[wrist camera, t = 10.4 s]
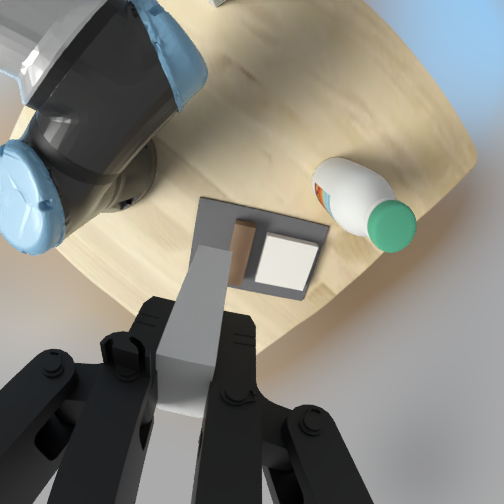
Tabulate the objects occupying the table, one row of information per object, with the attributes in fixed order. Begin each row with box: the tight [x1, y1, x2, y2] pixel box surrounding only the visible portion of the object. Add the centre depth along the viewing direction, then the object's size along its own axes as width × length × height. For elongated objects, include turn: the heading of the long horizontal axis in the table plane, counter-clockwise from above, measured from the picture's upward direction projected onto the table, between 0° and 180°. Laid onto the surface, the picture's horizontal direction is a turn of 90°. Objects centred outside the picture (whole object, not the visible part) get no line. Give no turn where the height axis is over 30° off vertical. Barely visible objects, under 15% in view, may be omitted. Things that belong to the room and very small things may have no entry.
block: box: [228, 219, 256, 287], centre depth 43 cm, size 3×10×2 cm, turn 167°
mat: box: [189, 197, 329, 301], centre depth 45 cm, size 20×14×1 cm
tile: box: [255, 232, 318, 291], centre depth 44 cm, size 2×8×8 cm
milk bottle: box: [312, 157, 416, 253], centre depth 31 cm, size 8×8×20 cm
